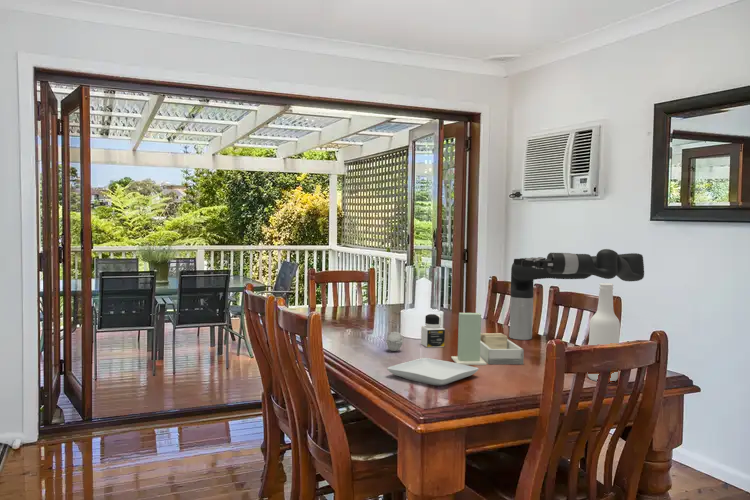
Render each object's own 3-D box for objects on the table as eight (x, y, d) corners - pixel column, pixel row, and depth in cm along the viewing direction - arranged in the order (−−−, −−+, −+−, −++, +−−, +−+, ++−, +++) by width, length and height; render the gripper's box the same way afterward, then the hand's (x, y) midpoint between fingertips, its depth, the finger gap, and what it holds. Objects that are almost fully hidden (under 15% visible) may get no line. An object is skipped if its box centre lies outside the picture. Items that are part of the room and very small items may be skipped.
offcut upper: (480, 340, 224) (480, 333, 224) (500, 339, 225) (501, 333, 225) (486, 343, 218) (486, 336, 218) (507, 343, 219) (507, 336, 219)
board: (457, 358, 210) (458, 312, 210) (477, 358, 211) (478, 312, 210) (459, 360, 207) (460, 314, 206) (479, 361, 207) (481, 314, 206)
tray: (474, 351, 225) (474, 338, 225) (506, 351, 226) (506, 338, 226) (488, 364, 205) (489, 349, 205) (523, 364, 206) (523, 349, 206)
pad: (451, 358, 213) (451, 356, 213) (479, 358, 214) (479, 356, 214) (457, 364, 204) (457, 363, 203) (486, 364, 204) (486, 363, 204)
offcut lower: (480, 346, 224) (480, 339, 224) (501, 346, 225) (501, 340, 225) (484, 350, 218) (485, 343, 218) (506, 350, 219) (506, 343, 219)
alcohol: (610, 375, 194) (614, 282, 192) (622, 383, 185) (626, 285, 183) (583, 375, 193) (586, 281, 192) (594, 382, 184) (598, 284, 183)
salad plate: (424, 366, 203) (424, 355, 202) (480, 377, 189) (480, 366, 189) (384, 378, 186) (384, 366, 186) (442, 391, 173) (442, 379, 173)
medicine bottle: (427, 347, 230) (427, 316, 229) (420, 344, 237) (421, 313, 236) (444, 347, 232) (445, 316, 231) (437, 343, 239) (438, 313, 238)
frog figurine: (404, 349, 225) (404, 331, 225) (400, 353, 219) (400, 334, 218) (388, 348, 227) (389, 330, 227) (383, 352, 220) (384, 333, 220)
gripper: (569, 275, 209) (523, 275, 208) (554, 272, 223) (511, 271, 222) (570, 254, 209) (524, 253, 207) (555, 251, 223) (511, 250, 221)
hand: (517, 262), depth 215 cm, fingers open, 8 cm apart
